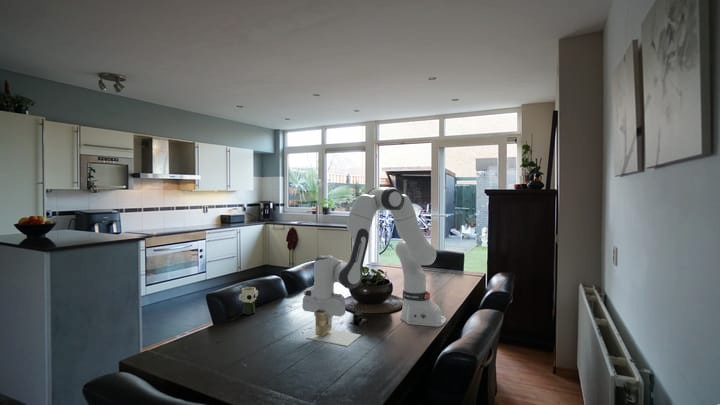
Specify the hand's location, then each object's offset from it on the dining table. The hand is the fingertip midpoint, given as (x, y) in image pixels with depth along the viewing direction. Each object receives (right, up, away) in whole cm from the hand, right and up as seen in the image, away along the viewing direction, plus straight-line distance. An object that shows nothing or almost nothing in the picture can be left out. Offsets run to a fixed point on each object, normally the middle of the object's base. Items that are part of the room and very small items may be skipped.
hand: (323, 323), depth 165 cm
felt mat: (+5, -6, -2) cm, 7 cm away
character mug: (-42, -5, +29) cm, 51 cm away
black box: (+15, -6, +18) cm, 24 cm away
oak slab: (0, -4, 0) cm, 4 cm away
